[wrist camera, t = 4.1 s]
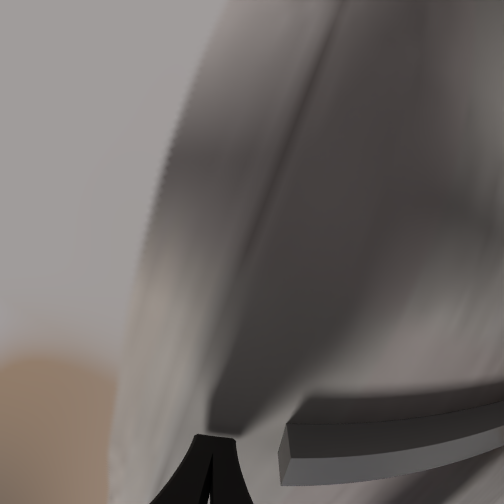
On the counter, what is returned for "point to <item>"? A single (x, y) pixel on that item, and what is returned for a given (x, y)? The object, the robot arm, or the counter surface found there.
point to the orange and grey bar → (386, 446)
